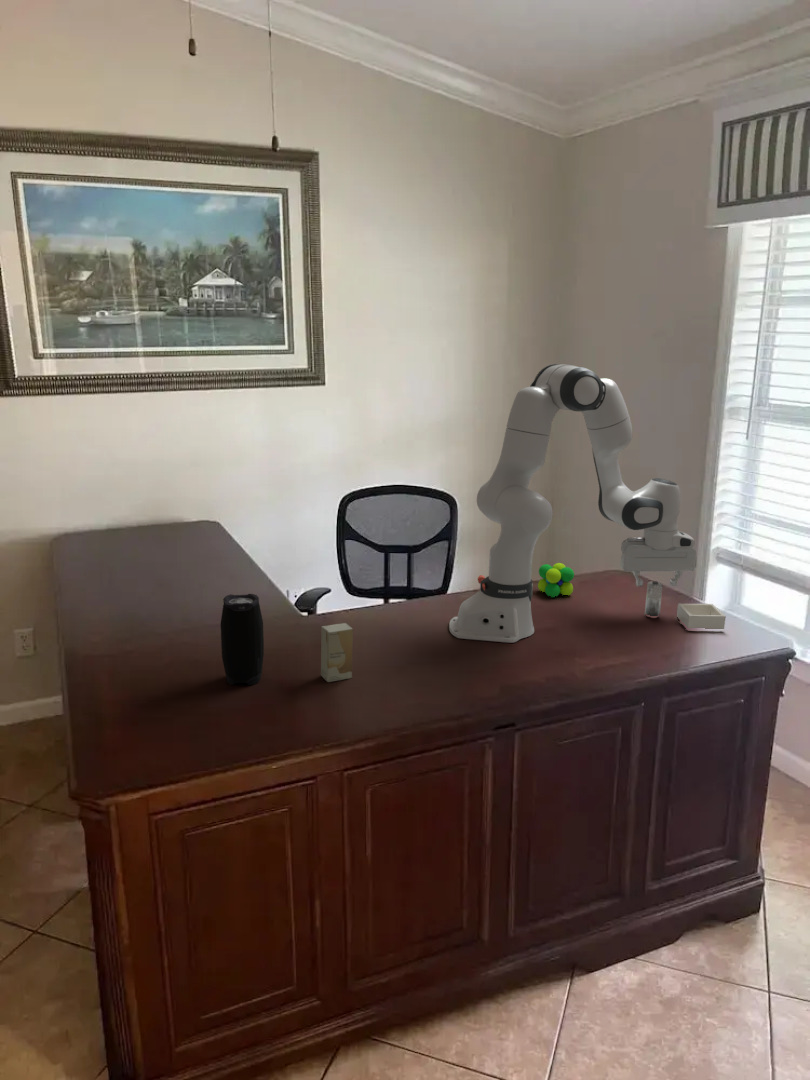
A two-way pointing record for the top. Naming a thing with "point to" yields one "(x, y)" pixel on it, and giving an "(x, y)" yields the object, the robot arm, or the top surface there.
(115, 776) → the top surface
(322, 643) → the skincare box
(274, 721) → the top surface
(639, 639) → the top surface
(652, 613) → the cylinder
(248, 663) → the portable speaker
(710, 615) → the cream square tray
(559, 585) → the molecule model
